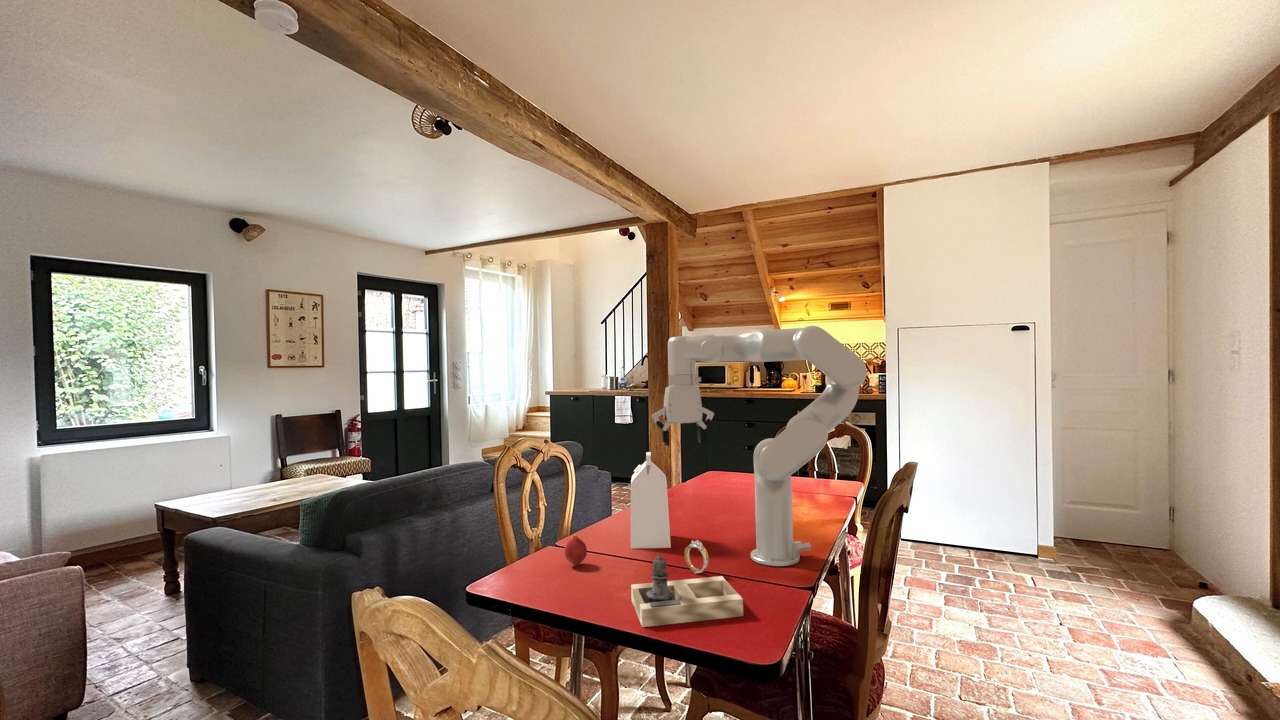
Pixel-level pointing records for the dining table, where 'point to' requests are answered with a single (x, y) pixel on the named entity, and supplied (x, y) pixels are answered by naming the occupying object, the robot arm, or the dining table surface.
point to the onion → (575, 551)
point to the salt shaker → (659, 582)
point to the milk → (649, 507)
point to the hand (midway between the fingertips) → (683, 444)
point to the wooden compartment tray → (688, 602)
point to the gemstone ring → (704, 554)
